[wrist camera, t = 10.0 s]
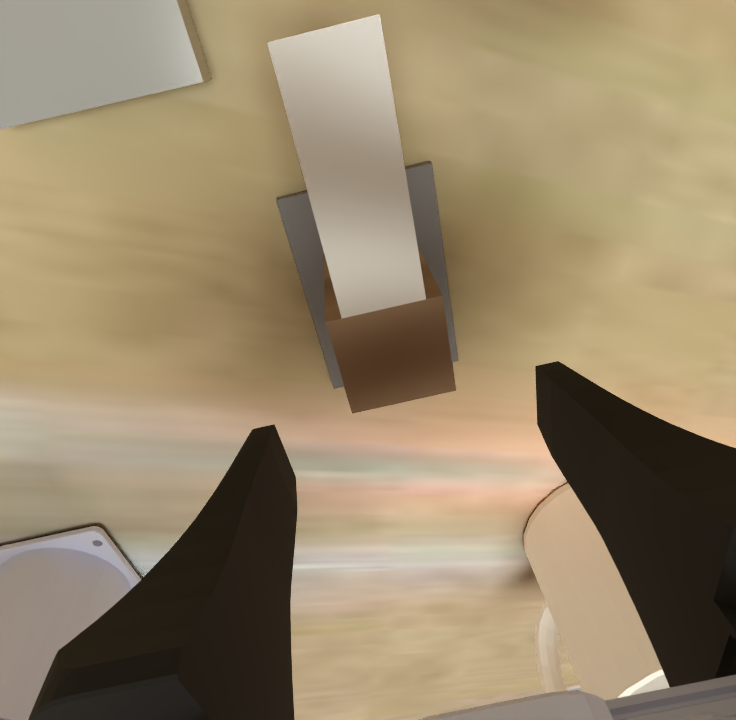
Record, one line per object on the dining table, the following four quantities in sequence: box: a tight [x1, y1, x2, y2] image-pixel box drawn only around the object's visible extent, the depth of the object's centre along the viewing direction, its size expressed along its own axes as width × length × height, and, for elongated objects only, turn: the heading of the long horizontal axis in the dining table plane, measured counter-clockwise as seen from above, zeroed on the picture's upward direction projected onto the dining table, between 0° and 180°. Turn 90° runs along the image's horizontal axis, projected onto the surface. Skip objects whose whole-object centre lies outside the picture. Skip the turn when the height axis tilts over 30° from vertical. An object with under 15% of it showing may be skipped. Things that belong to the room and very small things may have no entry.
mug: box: [524, 483, 670, 700], centre depth 28 cm, size 13×10×10 cm
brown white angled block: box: [267, 14, 456, 413], centre depth 17 cm, size 11×4×6 cm, turn 12°
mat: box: [276, 161, 458, 388], centre depth 21 cm, size 9×6×1 cm, turn 12°
